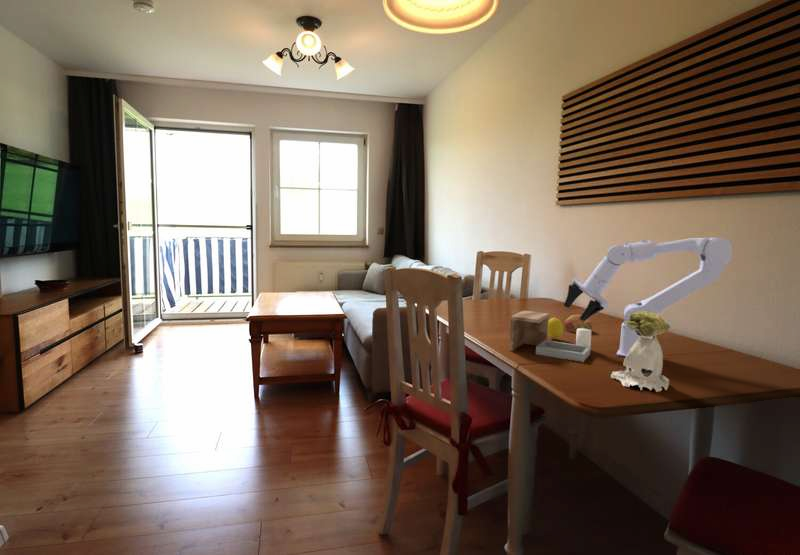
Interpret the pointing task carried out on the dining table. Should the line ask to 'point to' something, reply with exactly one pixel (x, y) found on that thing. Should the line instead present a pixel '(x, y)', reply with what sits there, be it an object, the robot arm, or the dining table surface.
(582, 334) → the beige rounded lump
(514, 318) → the counter shelf
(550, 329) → the lemon
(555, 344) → the tray
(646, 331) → the potted plant vase
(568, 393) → the dining table surface
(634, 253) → the robot arm
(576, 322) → the bread roll
